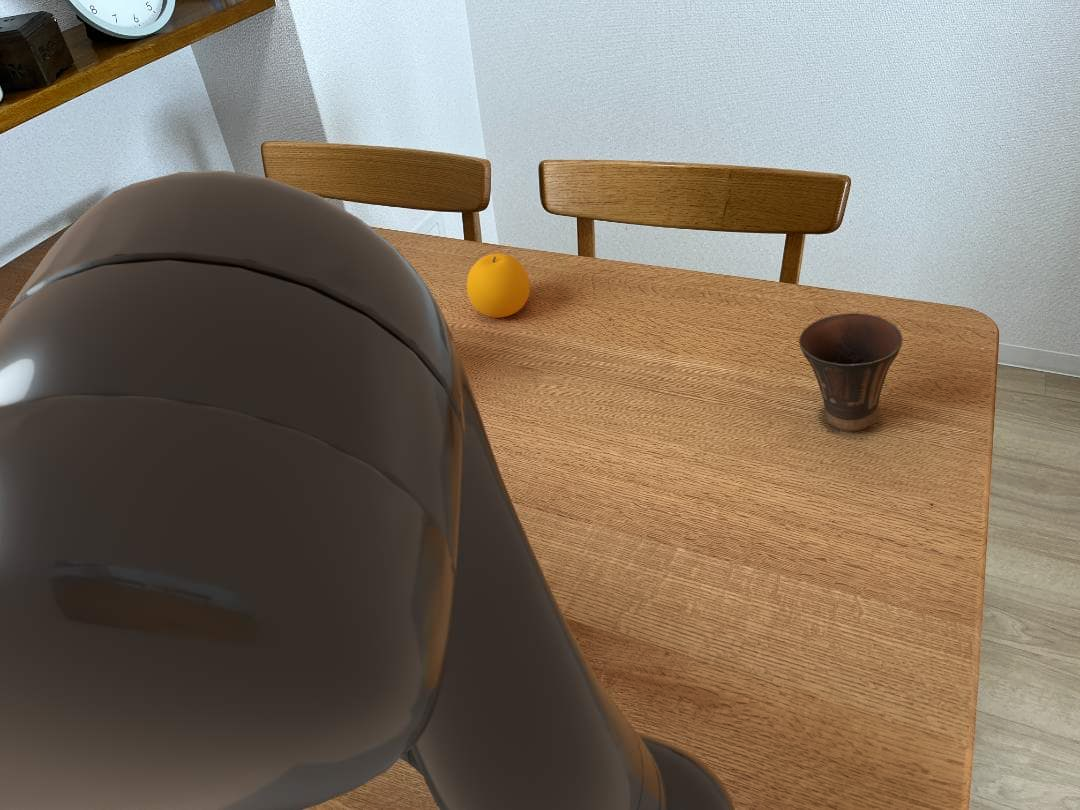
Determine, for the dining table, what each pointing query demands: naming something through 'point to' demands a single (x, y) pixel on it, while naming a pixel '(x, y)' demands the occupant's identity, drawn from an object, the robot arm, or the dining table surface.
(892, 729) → the dining table surface
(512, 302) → the orange fruit
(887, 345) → the cup
